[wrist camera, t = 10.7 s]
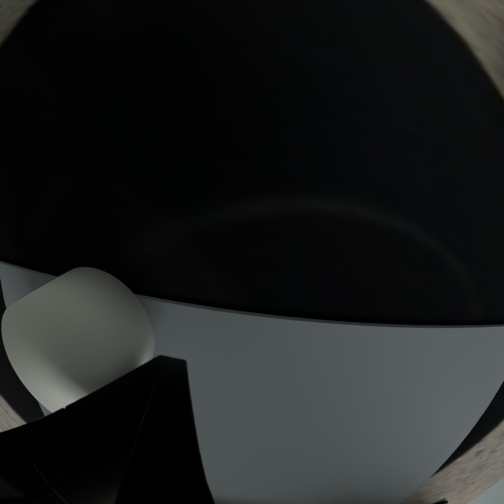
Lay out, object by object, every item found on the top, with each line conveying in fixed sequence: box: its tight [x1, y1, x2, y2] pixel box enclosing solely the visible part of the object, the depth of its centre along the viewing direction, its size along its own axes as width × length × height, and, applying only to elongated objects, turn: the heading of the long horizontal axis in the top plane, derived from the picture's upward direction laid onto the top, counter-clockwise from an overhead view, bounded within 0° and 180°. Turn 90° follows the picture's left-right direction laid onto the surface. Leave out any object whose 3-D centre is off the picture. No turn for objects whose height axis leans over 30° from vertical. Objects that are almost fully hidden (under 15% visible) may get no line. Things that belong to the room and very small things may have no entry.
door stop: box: [2, 267, 155, 413], centre depth 7 cm, size 4×4×3 cm
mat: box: [0, 261, 504, 504], centre depth 11 cm, size 25×21×1 cm
